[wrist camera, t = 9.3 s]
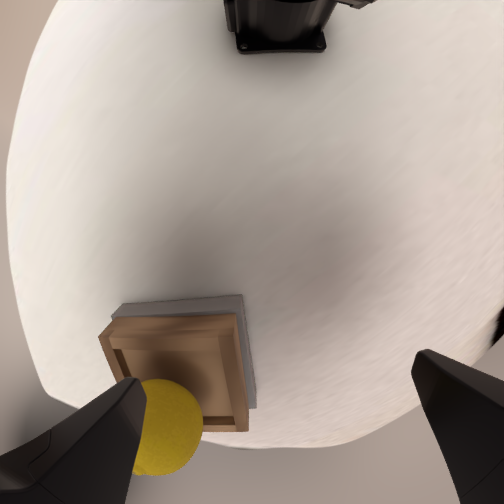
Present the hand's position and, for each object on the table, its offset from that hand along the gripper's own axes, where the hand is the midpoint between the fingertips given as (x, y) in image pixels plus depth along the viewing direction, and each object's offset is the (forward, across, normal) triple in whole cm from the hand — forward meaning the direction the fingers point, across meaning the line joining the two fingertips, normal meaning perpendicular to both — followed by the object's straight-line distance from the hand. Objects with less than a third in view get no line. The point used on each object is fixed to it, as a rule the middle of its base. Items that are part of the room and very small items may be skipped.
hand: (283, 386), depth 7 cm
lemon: (+8, +7, +8) cm, 13 cm away
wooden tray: (+10, +7, +8) cm, 14 cm away
